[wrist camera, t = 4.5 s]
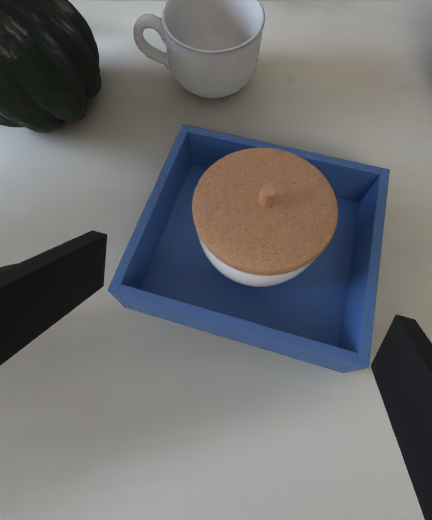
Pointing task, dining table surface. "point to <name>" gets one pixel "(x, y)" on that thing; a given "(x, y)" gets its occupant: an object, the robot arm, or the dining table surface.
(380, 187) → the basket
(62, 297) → the robot arm
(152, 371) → the dining table surface
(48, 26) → the squash
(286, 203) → the trinket box
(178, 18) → the teacup
